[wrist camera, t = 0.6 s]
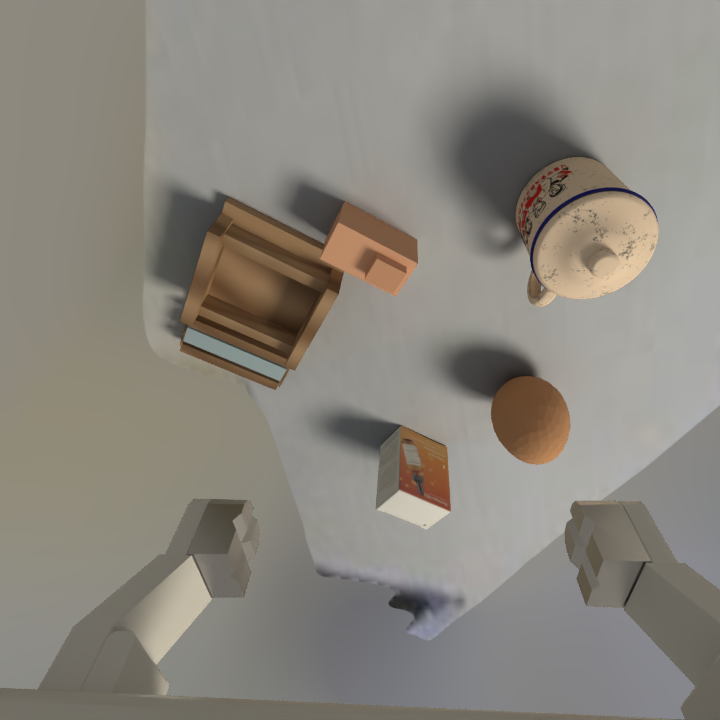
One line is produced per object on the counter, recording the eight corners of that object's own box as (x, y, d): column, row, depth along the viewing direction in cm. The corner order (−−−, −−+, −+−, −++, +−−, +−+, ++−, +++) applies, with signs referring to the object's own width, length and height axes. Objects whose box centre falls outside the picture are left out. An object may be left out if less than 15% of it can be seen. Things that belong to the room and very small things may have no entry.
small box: (447, 445, 64) (453, 512, 56) (424, 465, 68) (426, 531, 60) (400, 423, 62) (399, 489, 54) (378, 445, 65) (374, 510, 57)
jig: (229, 196, 44) (211, 218, 40) (350, 257, 47) (344, 283, 43) (183, 339, 56) (165, 366, 52) (281, 380, 59) (272, 409, 55)
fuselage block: (344, 200, 43) (336, 228, 38) (417, 239, 45) (418, 270, 40) (327, 235, 45) (317, 265, 41) (396, 270, 47) (395, 303, 43)
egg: (481, 366, 54) (494, 439, 46) (554, 353, 52) (583, 427, 44) (490, 412, 59) (504, 486, 51) (558, 403, 57) (584, 478, 49)
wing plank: (192, 319, 52) (187, 327, 51) (289, 361, 55) (286, 369, 54) (188, 333, 53) (183, 341, 52) (282, 373, 56) (280, 381, 55)
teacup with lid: (545, 137, 38) (587, 186, 29) (641, 172, 39) (709, 229, 30) (480, 260, 46) (498, 328, 37) (562, 286, 47) (598, 359, 38)
